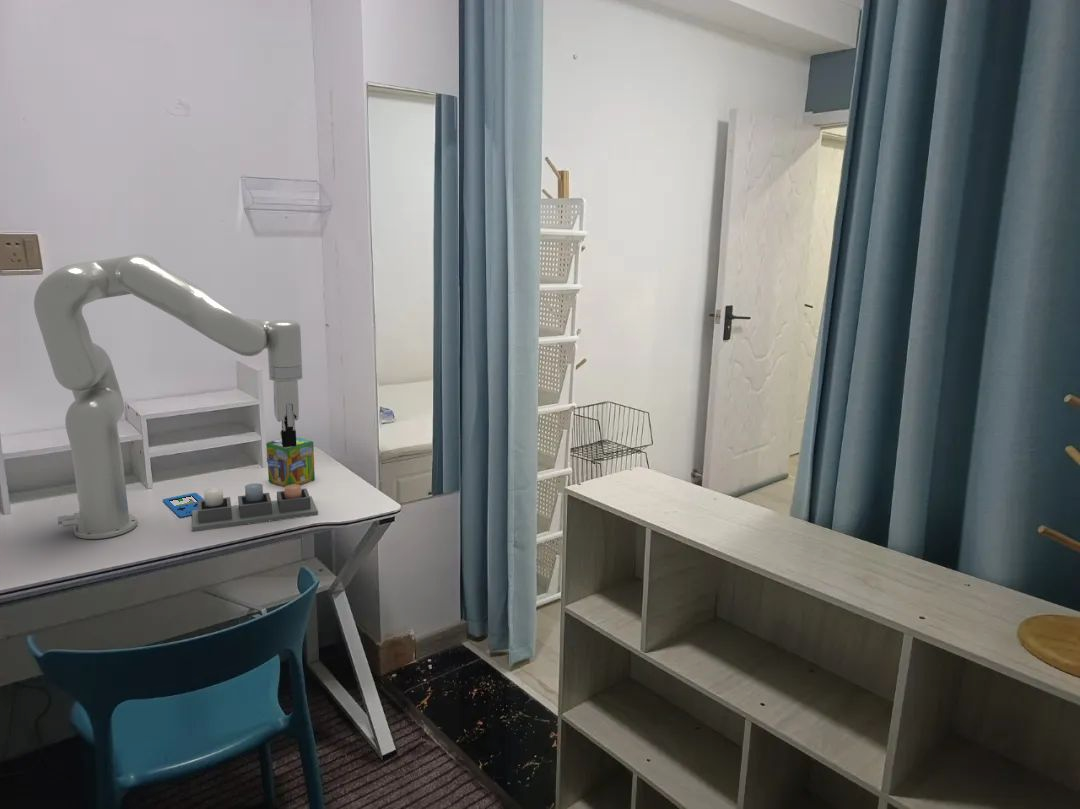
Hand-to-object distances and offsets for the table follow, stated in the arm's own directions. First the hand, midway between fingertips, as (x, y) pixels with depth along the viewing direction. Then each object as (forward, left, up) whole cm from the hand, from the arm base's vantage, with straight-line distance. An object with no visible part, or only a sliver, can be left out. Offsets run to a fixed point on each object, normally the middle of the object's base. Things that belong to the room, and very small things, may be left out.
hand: (289, 445), depth 177 cm
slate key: (-9, 0, -13) cm, 15 cm away
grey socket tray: (-9, 0, -17) cm, 19 cm away
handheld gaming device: (-24, +12, -17) cm, 32 cm away
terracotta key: (0, 0, -14) cm, 14 cm away
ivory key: (-18, 0, -13) cm, 22 cm away
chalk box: (+2, +22, -17) cm, 28 cm away
